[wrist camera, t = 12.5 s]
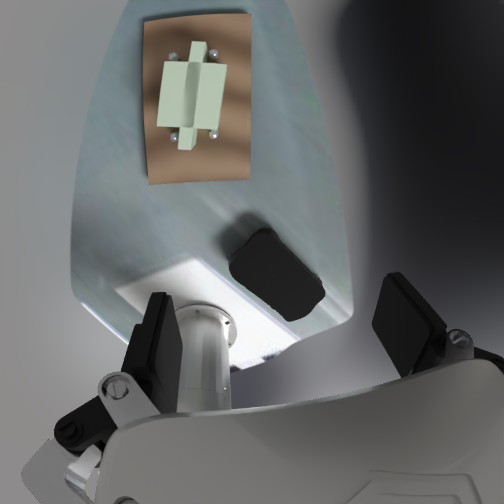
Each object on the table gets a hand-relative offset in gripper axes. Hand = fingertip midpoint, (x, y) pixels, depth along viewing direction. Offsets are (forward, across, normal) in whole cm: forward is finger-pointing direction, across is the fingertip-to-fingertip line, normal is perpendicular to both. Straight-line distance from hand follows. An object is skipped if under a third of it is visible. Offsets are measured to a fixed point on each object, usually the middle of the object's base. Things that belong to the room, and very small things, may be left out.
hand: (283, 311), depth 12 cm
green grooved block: (+26, +5, -11) cm, 28 cm away
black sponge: (+28, -5, +16) cm, 33 cm away
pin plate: (+27, +5, -11) cm, 30 cm away
